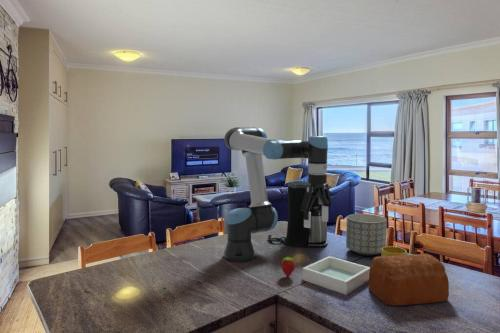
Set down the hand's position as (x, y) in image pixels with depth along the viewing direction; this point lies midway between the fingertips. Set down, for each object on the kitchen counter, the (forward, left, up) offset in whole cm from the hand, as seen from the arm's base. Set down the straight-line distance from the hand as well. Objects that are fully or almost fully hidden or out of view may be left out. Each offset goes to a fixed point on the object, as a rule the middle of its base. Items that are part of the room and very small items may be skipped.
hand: (316, 224), depth 146 cm
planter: (+1, +42, -23) cm, 48 cm away
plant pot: (+21, +28, -23) cm, 42 cm away
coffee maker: (-36, +37, -23) cm, 56 cm away
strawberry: (-8, -9, -23) cm, 26 cm away
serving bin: (+8, +3, -22) cm, 24 cm away
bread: (+34, +10, -23) cm, 42 cm away
